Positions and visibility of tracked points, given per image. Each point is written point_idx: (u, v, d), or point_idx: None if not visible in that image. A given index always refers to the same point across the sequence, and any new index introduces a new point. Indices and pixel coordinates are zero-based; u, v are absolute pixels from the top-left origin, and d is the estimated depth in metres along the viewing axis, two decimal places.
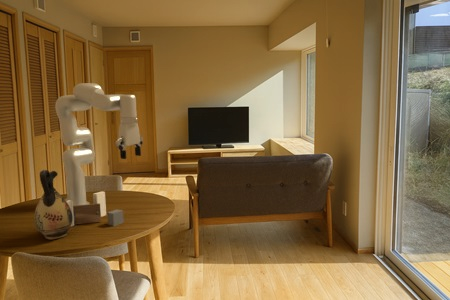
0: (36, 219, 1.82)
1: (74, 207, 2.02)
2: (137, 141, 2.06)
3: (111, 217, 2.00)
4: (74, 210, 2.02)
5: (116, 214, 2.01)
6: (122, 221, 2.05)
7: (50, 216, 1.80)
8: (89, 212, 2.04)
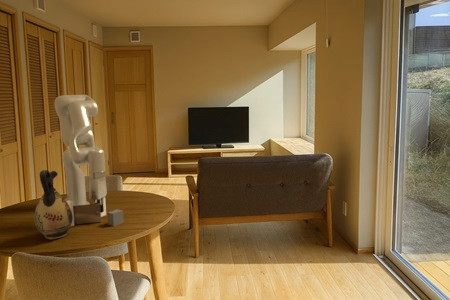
0: (36, 219, 1.82)
1: (74, 207, 2.02)
2: (105, 193, 2.11)
3: (111, 217, 2.00)
4: (74, 210, 2.02)
5: (116, 214, 2.01)
6: (122, 221, 2.05)
7: (50, 216, 1.80)
8: (89, 212, 2.04)
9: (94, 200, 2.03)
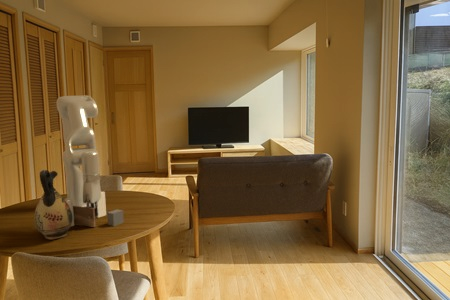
0: (36, 219, 1.82)
1: (73, 207, 2.02)
2: (99, 197, 2.04)
3: (111, 217, 2.00)
4: (73, 210, 2.02)
5: (116, 214, 2.01)
6: (122, 221, 2.05)
7: (50, 216, 1.80)
8: (84, 215, 2.00)
9: (88, 204, 1.97)
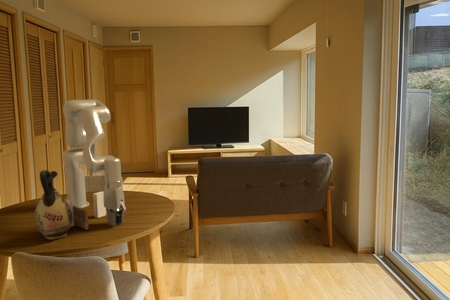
0: (36, 219, 1.82)
1: None
2: None
3: (111, 217, 2.00)
4: None
5: (116, 214, 2.01)
6: (122, 221, 2.05)
7: (50, 216, 1.80)
8: (79, 216, 1.98)
9: (123, 206, 1.99)
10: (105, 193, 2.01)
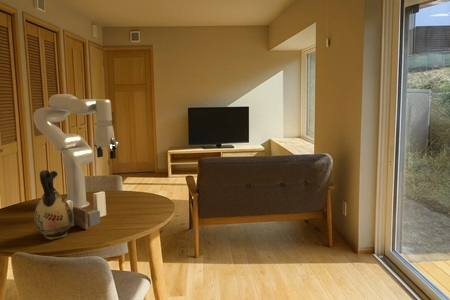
0: (36, 219, 1.82)
1: None
2: None
3: None
4: None
5: (92, 215, 2.01)
6: (99, 222, 2.05)
7: (50, 216, 1.80)
8: (79, 216, 1.98)
9: (113, 140, 2.15)
10: (97, 132, 2.17)
